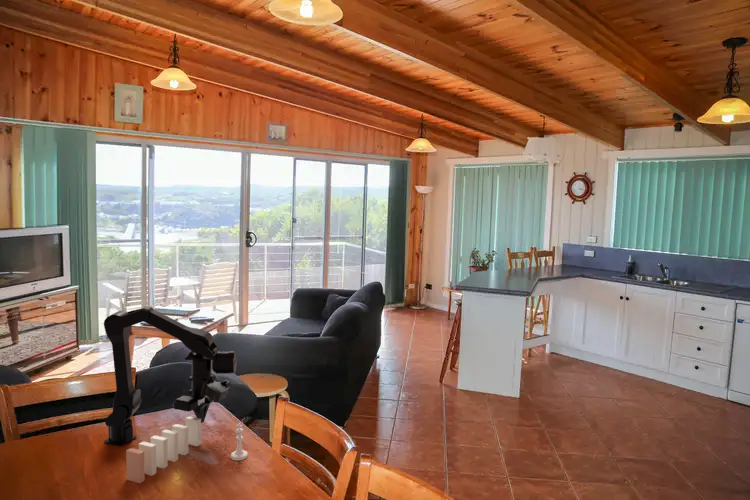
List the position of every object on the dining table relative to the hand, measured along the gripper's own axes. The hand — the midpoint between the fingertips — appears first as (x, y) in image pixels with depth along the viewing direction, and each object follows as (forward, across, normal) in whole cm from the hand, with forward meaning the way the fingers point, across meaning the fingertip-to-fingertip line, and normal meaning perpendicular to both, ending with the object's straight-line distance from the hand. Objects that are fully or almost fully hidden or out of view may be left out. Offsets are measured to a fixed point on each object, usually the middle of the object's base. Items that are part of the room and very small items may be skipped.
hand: (201, 422), depth 162 cm
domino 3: (+6, -18, 0) cm, 19 cm away
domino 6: (+6, -3, 0) cm, 6 cm away
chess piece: (+6, -5, -17) cm, 18 cm away
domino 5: (+6, -10, 0) cm, 11 cm away
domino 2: (+6, -22, 0) cm, 23 cm away
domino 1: (+6, -26, 0) cm, 27 cm away
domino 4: (+6, -14, 0) cm, 15 cm away
